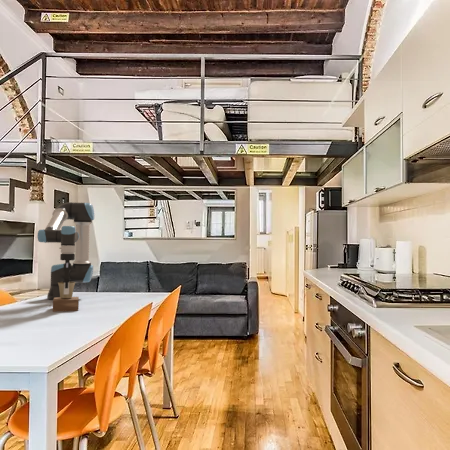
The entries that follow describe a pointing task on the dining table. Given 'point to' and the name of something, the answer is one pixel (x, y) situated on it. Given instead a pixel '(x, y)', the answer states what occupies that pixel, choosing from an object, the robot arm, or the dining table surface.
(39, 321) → the dining table surface
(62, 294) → the flower pot
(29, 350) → the dining table surface
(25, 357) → the dining table surface
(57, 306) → the walnut block
